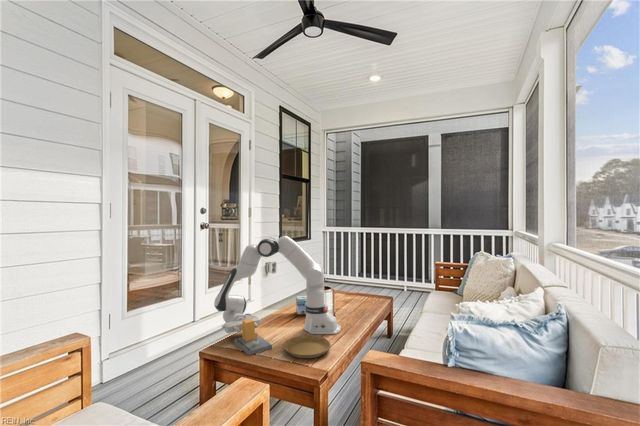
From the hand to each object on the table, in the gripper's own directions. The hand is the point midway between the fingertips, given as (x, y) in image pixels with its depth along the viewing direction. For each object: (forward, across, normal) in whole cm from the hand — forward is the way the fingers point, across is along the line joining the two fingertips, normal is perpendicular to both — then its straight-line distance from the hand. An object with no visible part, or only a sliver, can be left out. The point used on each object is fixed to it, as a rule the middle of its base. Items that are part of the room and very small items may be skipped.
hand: (248, 328), depth 177 cm
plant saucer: (+28, +20, +8) cm, 35 cm away
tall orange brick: (+1, 0, +5) cm, 5 cm away
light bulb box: (-23, +53, +8) cm, 58 cm away
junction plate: (+6, 0, +7) cm, 9 cm away
